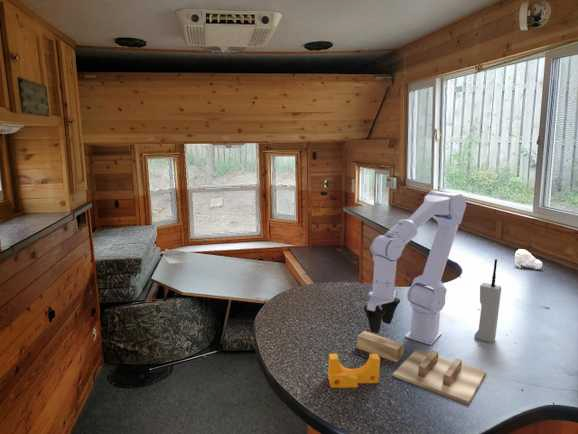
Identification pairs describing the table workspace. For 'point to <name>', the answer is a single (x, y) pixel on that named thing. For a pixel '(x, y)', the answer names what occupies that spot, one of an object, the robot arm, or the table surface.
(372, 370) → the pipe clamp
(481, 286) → the vintage mobile phone
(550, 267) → the table surface
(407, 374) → the rail stand
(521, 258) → the white rough lump
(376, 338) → the oak beam
